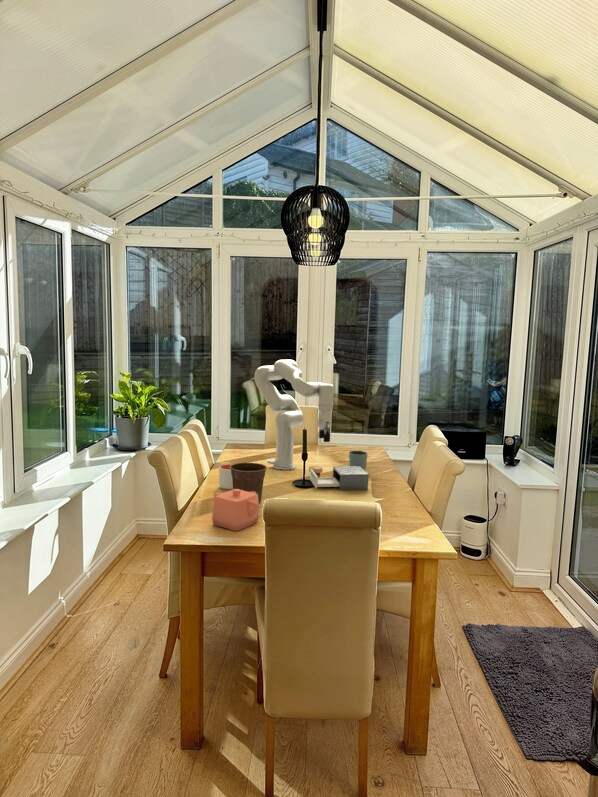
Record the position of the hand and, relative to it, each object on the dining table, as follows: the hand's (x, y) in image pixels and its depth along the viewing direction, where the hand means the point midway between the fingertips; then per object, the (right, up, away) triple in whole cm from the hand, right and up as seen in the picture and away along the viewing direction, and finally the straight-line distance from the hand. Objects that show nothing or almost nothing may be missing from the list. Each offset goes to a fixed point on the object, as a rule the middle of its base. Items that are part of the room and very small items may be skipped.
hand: (324, 439), depth 285 cm
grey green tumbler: (+18, -20, +12) cm, 29 cm away
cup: (-47, -21, -22) cm, 56 cm away
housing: (+12, -22, -12) cm, 28 cm away
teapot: (-37, -28, -68) cm, 82 cm away
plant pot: (-36, -25, -43) cm, 61 cm away
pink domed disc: (-5, -16, -2) cm, 17 cm away
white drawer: (0, -21, -14) cm, 25 cm away
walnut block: (-5, -20, -1) cm, 21 cm away
